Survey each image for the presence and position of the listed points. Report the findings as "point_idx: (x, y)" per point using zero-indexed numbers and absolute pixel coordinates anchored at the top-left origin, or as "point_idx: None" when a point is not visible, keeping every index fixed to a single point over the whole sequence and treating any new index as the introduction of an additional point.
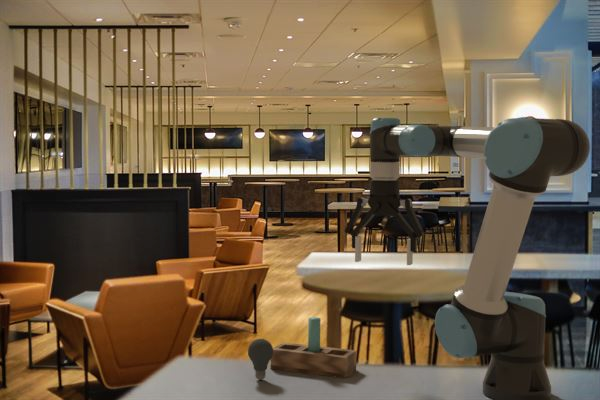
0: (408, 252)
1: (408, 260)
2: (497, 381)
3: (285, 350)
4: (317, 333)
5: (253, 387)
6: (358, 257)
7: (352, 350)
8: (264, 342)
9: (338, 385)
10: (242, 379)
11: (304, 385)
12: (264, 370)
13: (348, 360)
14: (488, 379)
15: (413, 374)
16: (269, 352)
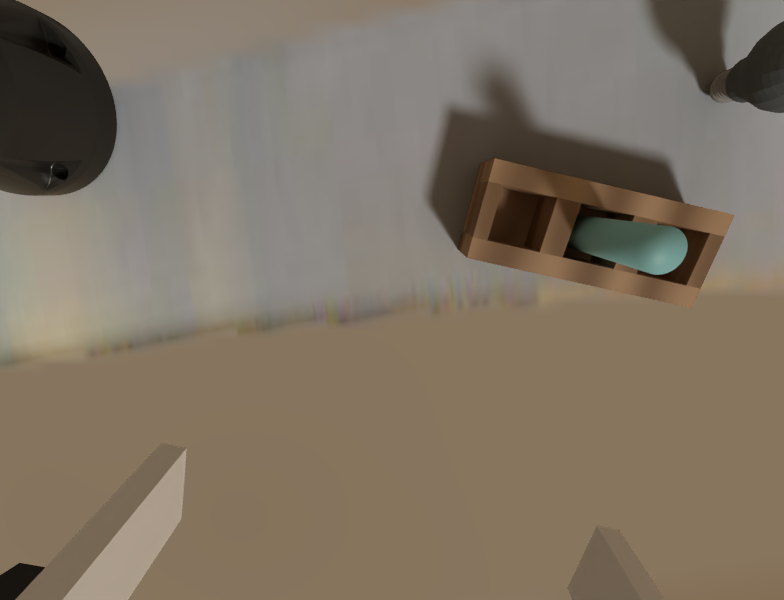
0: (88, 542)
1: (146, 474)
2: (21, 17)
3: (686, 210)
4: (617, 227)
5: (736, 6)
6: (610, 570)
7: (478, 255)
8: None
9: (494, 86)
10: None
11: (589, 63)
12: (731, 69)
13: (483, 187)
14: (60, 62)
15: (308, 239)
16: (773, 34)
